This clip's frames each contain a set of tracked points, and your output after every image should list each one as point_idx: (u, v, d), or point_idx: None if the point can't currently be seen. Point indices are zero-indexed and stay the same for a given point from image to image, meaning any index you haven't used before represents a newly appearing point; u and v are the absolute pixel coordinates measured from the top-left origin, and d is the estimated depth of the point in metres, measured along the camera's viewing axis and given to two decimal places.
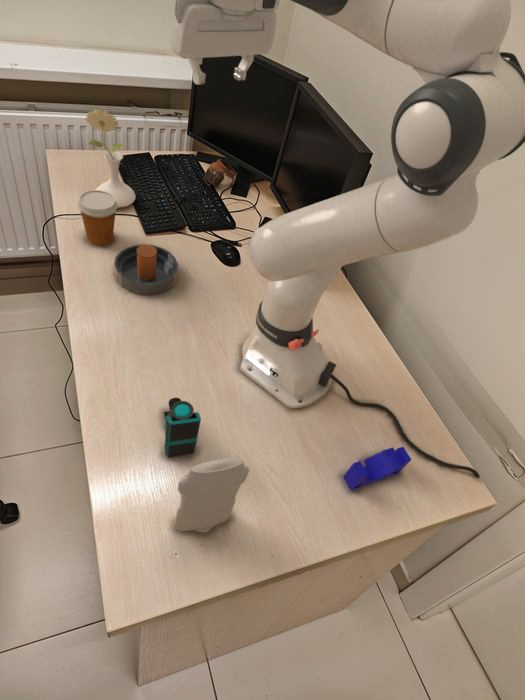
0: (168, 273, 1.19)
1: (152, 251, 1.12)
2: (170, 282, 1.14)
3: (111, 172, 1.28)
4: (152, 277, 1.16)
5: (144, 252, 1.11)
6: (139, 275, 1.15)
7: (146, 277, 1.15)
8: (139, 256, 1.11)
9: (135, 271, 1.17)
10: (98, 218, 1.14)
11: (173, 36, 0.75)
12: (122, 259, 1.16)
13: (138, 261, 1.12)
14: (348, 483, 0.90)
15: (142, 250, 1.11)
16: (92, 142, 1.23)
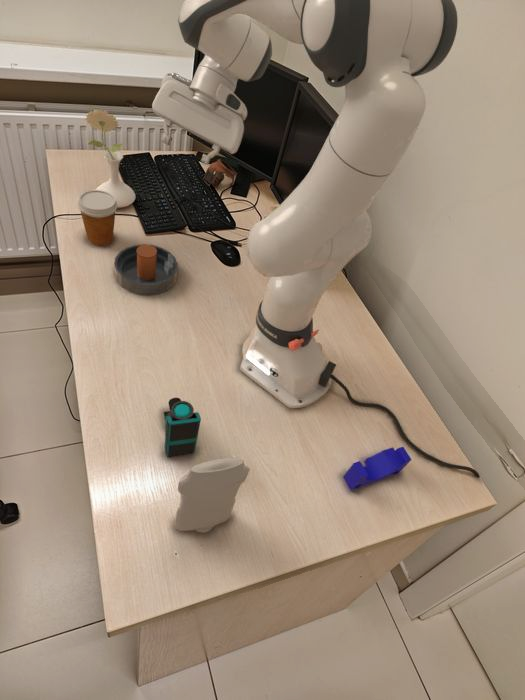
0: (168, 273, 1.19)
1: (152, 251, 1.12)
2: (170, 282, 1.14)
3: (111, 172, 1.28)
4: (152, 277, 1.16)
5: (144, 252, 1.11)
6: (139, 275, 1.15)
7: (146, 277, 1.15)
8: (139, 256, 1.11)
9: (135, 271, 1.17)
10: (98, 218, 1.14)
11: None
12: (122, 259, 1.16)
13: (138, 261, 1.12)
14: (348, 483, 0.90)
15: (142, 250, 1.11)
16: (92, 142, 1.23)
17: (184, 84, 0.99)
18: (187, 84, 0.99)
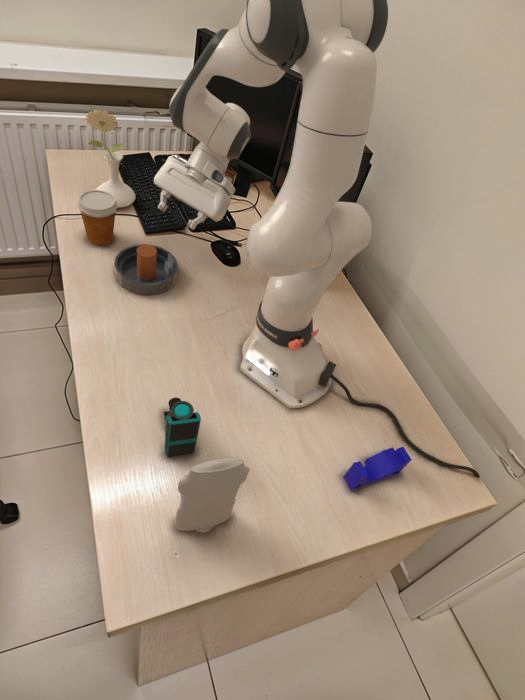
0: (168, 273, 1.19)
1: (152, 251, 1.12)
2: (170, 282, 1.14)
3: (111, 172, 1.28)
4: (152, 277, 1.16)
5: (144, 252, 1.11)
6: (139, 275, 1.15)
7: (146, 277, 1.15)
8: (139, 256, 1.11)
9: (135, 271, 1.17)
10: (98, 218, 1.14)
11: None
12: (122, 259, 1.16)
13: (138, 261, 1.12)
14: (348, 483, 0.90)
15: (142, 250, 1.11)
16: (92, 142, 1.23)
17: (183, 163, 1.14)
18: (185, 163, 1.14)
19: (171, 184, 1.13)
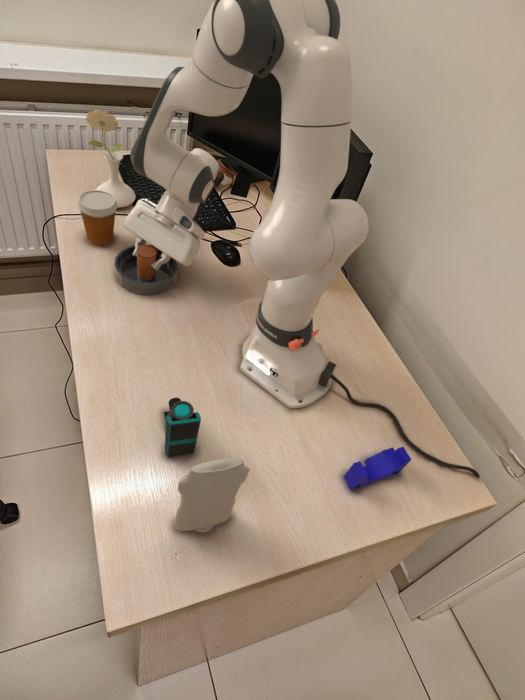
0: (168, 273, 1.19)
1: (152, 251, 1.12)
2: (170, 282, 1.14)
3: (111, 172, 1.28)
4: (152, 277, 1.16)
5: (144, 252, 1.11)
6: (139, 275, 1.15)
7: (146, 277, 1.15)
8: (139, 256, 1.11)
9: (135, 271, 1.17)
10: (98, 218, 1.14)
11: None
12: (122, 259, 1.16)
13: (138, 261, 1.12)
14: (348, 483, 0.90)
15: (142, 250, 1.11)
16: (92, 142, 1.23)
17: (152, 207, 1.14)
18: (155, 207, 1.14)
19: (140, 228, 1.13)
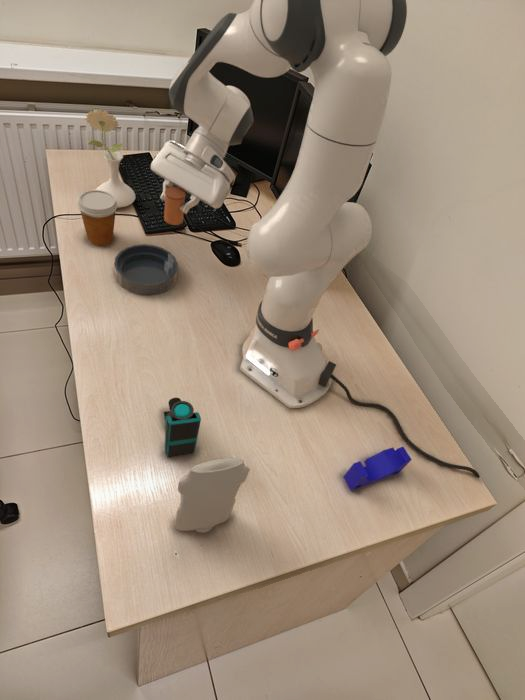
0: (168, 273, 1.19)
1: (181, 193, 1.09)
2: (170, 282, 1.14)
3: (111, 172, 1.28)
4: (180, 221, 1.13)
5: (173, 194, 1.08)
6: (166, 219, 1.12)
7: (173, 221, 1.12)
8: (168, 197, 1.08)
9: (135, 271, 1.17)
10: (98, 218, 1.14)
11: None
12: (122, 259, 1.16)
13: (166, 203, 1.09)
14: (348, 483, 0.90)
15: (171, 192, 1.08)
16: (92, 142, 1.23)
17: (181, 149, 1.11)
18: (183, 149, 1.11)
19: (168, 170, 1.09)
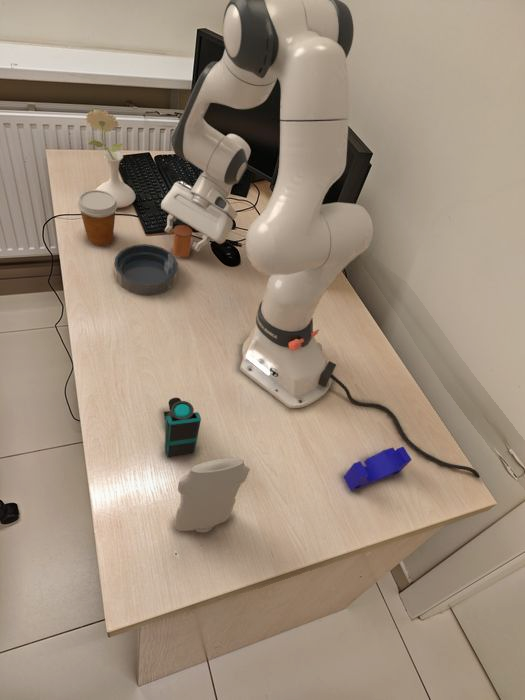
0: (168, 273, 1.19)
1: (188, 231, 1.21)
2: (170, 282, 1.14)
3: (111, 172, 1.28)
4: (187, 255, 1.25)
5: (181, 231, 1.20)
6: (175, 253, 1.24)
7: (181, 255, 1.24)
8: (176, 235, 1.19)
9: (135, 271, 1.17)
10: (98, 218, 1.14)
11: None
12: (122, 259, 1.16)
13: (175, 240, 1.21)
14: (348, 483, 0.90)
15: (179, 230, 1.20)
16: (92, 142, 1.23)
17: (188, 189, 1.22)
18: (190, 189, 1.22)
19: (177, 209, 1.21)
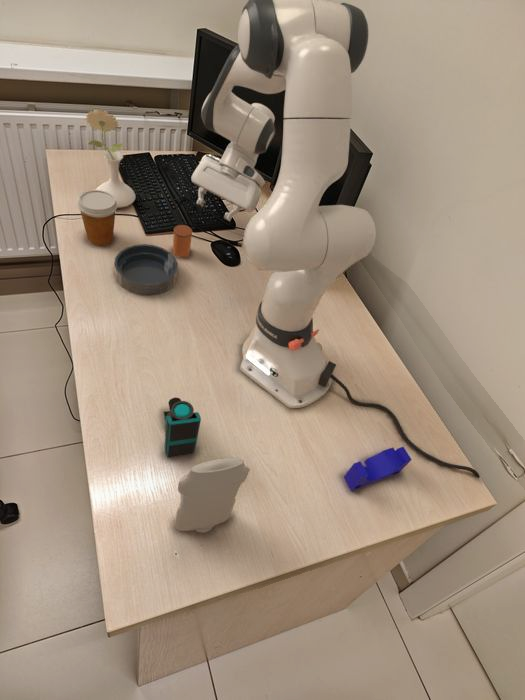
0: (168, 273, 1.19)
1: (188, 231, 1.21)
2: (170, 282, 1.14)
3: (111, 172, 1.28)
4: (187, 255, 1.25)
5: (181, 231, 1.20)
6: (175, 253, 1.24)
7: (181, 255, 1.24)
8: (176, 235, 1.19)
9: (135, 271, 1.17)
10: (98, 218, 1.14)
11: None
12: (122, 259, 1.16)
13: (175, 240, 1.21)
14: (348, 483, 0.90)
15: (179, 230, 1.20)
16: (92, 142, 1.23)
17: (216, 161, 1.27)
18: (218, 161, 1.27)
19: (207, 181, 1.26)
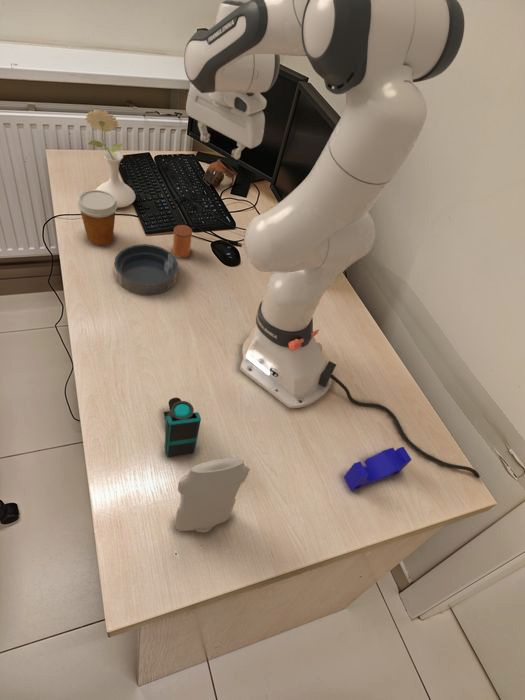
0: (168, 273, 1.19)
1: (188, 231, 1.21)
2: (170, 282, 1.14)
3: (111, 172, 1.28)
4: (187, 255, 1.25)
5: (181, 231, 1.20)
6: (175, 253, 1.24)
7: (181, 255, 1.24)
8: (176, 235, 1.19)
9: (135, 271, 1.17)
10: (98, 218, 1.14)
11: None
12: (122, 259, 1.16)
13: (175, 240, 1.21)
14: (348, 483, 0.90)
15: (179, 230, 1.20)
16: (92, 142, 1.23)
17: None
18: None
19: (203, 115, 1.07)
